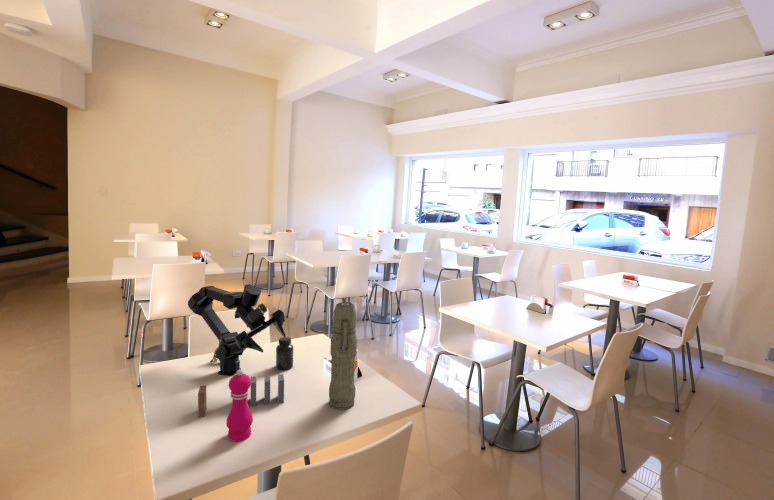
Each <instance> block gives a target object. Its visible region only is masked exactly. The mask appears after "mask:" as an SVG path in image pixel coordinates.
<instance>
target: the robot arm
mask: <svg viewBox="0 0 774 500" xmlns="http://www.w3.org/2000/svg"><path fill="white" fill-rule="evenodd" d="M261 294H262V289H261V287H258V286H256V285H252V284H251V283H248V284H244V287H243V291H228V290H224V289H222V288H218V287H217V286H214V285H206V286H203V287H200V289H199V290H198V291H197V292H195V293H194V294H192V295H191V297H189V299H188V301H187V306H188V308H189V309H190V311H191V312H192V313H193V314H195V315H198V316H201V318H203V320H204V322H205V323H206V325H207V326H208V327H209V329H210V330H211V332H212V333H213V334H214V335H215V337H216V339H218V347H219V349H218V350H217V352H216V354H215V355H216V359H218V361H219V360H220V361H219V370H218V371H217V374H218V375H225V376H231V377H233V376H234V375H236V374H237V371H238V370H239V369H241V370H242V367H241V364H240V362H241V361H240V356H243V354H244V352H243V350H244V348H245V350H246V349H250V350H251V349H252V350H254V351H258V352H260V353H264V349H263V348H262V346H260V345H259V343H257V342H256V341H255V340H254V339H253V337H254V336H256V335H257V334H260V333H262V332H263V331H265V330H266V329H267V328H269V327H270V326H272V325H274V327H275V329H276V330H277V331H278V332H279V334H280V335H282V337H287V335H286V333H285V331H284V328H283V327H284V326H283V325H284V322H285V321H286V320H285V313H284V312H285V311H283V310H282V309H280V308H279V309H276V310H275V311H273V312H272V313H271V314H270V318H269V319H268V320H267V321H266V317H265V314H266V312H268V308H267V306H266V305H265V304H264V303H261V304H258V302H259V299H260V296H261ZM214 301H217V302H220V303H222V305H223V307H225V308H226V309H228V310H233V309H235V311H234V319H239V318H240V319H241V321H242V322H243V323H244V324H245V326H246V328H248V329H249V330H250V331H248V332H247V331H246V330H242V331H241V332H239V333H238V332H237V331H234V332H230V330H229V329H228V328H227V326H226V325H225V324H224V322H223V321H222V320H221V318H220V317H219V315H218V314H217V313H216V311H215V310H214V308H213V305H214V304H213V302H214ZM257 304H258V305H257ZM255 306H257V307H256V308H254V307H255ZM245 350H244V351H245Z"/></svg>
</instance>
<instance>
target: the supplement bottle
mask: <svg viewBox="0 0 774 500" xmlns="http://www.w3.org/2000/svg"><path fill="white" fill-rule="evenodd" d="M293 367H294V346H293V344H292V339H291V337H290V336H289V337H288V336H286V337H284V336H282V337H279V338H278V345H276V350H275V368H276V369H277V370H279V371H280V370H281V371H288V370H291V369H292V368H293Z"/></svg>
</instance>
